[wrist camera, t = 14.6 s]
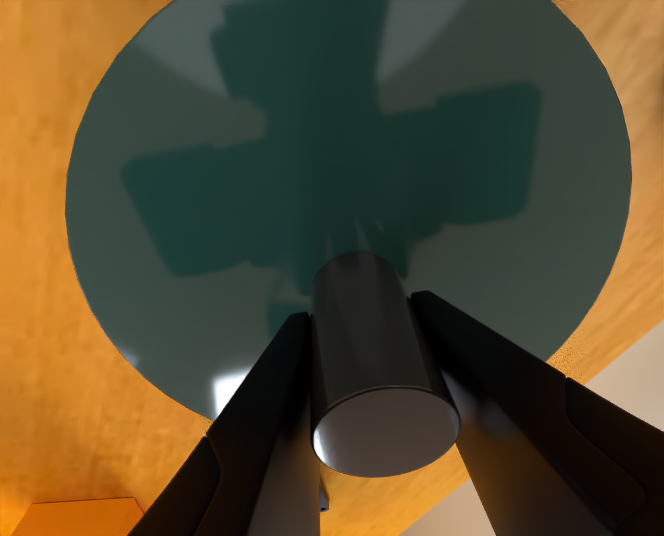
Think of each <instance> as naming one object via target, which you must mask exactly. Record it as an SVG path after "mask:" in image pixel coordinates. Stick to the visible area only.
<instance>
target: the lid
mask: <svg viewBox="0 0 664 536" xmlns="http://www.w3.org/2000/svg"><path fill="white" fill-rule="evenodd" d="M631 185H632V170H631V153H630V141H629V137H628V132H627V128H626V124H625V119H624V115H623V111H622V106H621V104H620V101H619V99H618V96H617V94H616V92H615V89H614V87H613V85H612V82H611V80H610V78H609V75H608V73H607V70H606V68H605V67H604V65H603V64H602V62H601V61H600V59H599V58H598V56H597V55H596V53H595V52H594V50H593V48H592V47H591V45H590V44H589V42H588V41H587V39H586V38H585V36H584V35H583V33H582V32H581V31H580V30H579V29H578V28H577V27H576V26H575V25H574V24H573V23H572V22H571V21H570V20H569V19H568V18H567V17H566V16H565V15H564V14H563V12H562V11H561V10H560V9H559V8H558V7H557V6H556V5H555V4H554V3H553V2H552V1H551V0H173V1H171V2H170V3H169V4H167V5H166V6H165V7H163V8H162V9H161V10H160V11H158V12H157V13H156V14H154V15H153V16H152V17H151V18H150V19H149V20H148V21H147V22H146V23H145V24H144V26H143V27H142V28H141V29H140V30H139V31H138V32H137V33H136V34H135V35H134V36H133V38H132V39H131V40H130V41H129V42H128V43H127V44H126V45H125V46H124V47H123V49H122V50H121V51H120V52H119V53H118V54H117V56H116V57H115V59H114V61H113V62H112V64H111V65H110V67H109V68H108V70H107V72H106V73H105V75H104V76H103V78H102V79H101V81H100V83H99V84H98V86H97V87H96V89H95V91H94V92H93V94H92V96H91V99H90V101H89V104H88V106H87V109H86V111H85V113H84V116H83V118H82V121H81V123H80V126H79V128H78V130H77V133H76V136H75V140H74V145H73V149H72V154H71V158H70V163H69V167H68V172H67V183H66V202H65V217H66V226H67V235H68V244H69V250H70V254H71V258H72V261H73V265H74V269H75V272H76V276H77V280H78V282H79V285H80V287H81V289H82V291H83V294H84V296H85V298H86V301H87V303H88V305H89V307H90V310H91V311H92V313H93V315H94V316H95V318H96V320H97V321H98V323H99V324H100V326H101V328H102V329H103V331H104V333H105V334H106V336H107V337H108V338H109V340H110V341H111V342H112V343H113V345H114V346H115V347H116V348H117V350H118V351H119V352H120V353H121V355H122V356H123V357H124V358H125V359H126V360H127V361H128V362H129V363H130V364H131V365H132V366H133V367H134V368H135V369H136V370H137V371H138V372H139V373H140V374H141V375H142V376H143V377H144V378H145V379H146V380H148V381H149V382H150V383H152V384H153V385H154V386H155V387H157V388H158V389H159V390H161V391H162V392H163V393H164V394H166V395H167V396H169V397H170V398H172V399H173V400H175V401H177V402H178V403H180V404H181V405H183V406H185V407H186V408H188V409H190V410H192V411H194V412H196V413H198V414H200V415H202V416H204V417H206V418H208V419H210V420H212V421H215V419H216V418H217V417H218V415H219V414H220V412H221V411H222V410H223V408H224V407H225V405H226V404H227V403H228V401H229V400H230V398H231V397H232V395H233V394H234V393H235V391H236V390H237V388H238V387H239V386H240V384H241V383H242V381H243V380H244V379H245V377H246V376H247V374H248V373H249V371H250V370H251V369H252V367H253V366H254V364H255V363H256V362H257V360H258V359H259V357H260V356H261V355H262V353H263V352H264V350H265V349H266V347H267V346H268V345H269V343H270V342H271V340H272V339H273V338H274V336H275V335H276V333H277V332H278V331H279V329H280V328H281V326H282V325H283V324H284V322H285V321H286V319H287V318H288V316H289V315H290V314H293V313H299V312H304V311H305V312H307V313H308V314H309V317H310V443H311V447H312V449H313V451H314V453H315V455H316V456H317V457H318V459H319V460H320V461H321V462H322V463H324V464H325V465H326V466H328V467H329V468H331V469H333V470H335V471H338V472H341V473H344V474H347V475H352V476H357V477H370V478H377V477H389V476H395V475H401V474H404V473H408V472H411V471H414V470H417V469H420V468H422V467H424V466H426V465H428V464H430V463H432V462H434V461H435V460H437V459H438V458H440V457H441V456H442V455H444V454H445V453H446V452H447V451H448V450H449V449H450V448H451V447H452V445H453V444H454V443H455V441H456V439H457V438H458V435H459V433H460V428H461V417H460V414H459V411H458V408H457V406H456V404H455V401H454V399H453V397H452V394H451V392H450V390H449V387H448V385H447V383H446V381H445V378H444V376H443V374H442V371H441V369H440V367H439V364H438V362H437V360H436V358H435V355H434V353H433V351H432V348H431V346H430V344H429V341H428V339H427V337H426V335H425V332H424V330H423V328H422V325H421V323H420V321H419V318H418V316H417V314H416V311H415V309H414V307H413V305H412V302H411V300H410V296H411V294H412V293H413V292H418V291H424V290H429V291H431V292H433V293H434V294H436V295H437V296H439V297H441V298H442V299H444V300H446V301H447V302H449V303H450V304H452V305H454V306H455V307H457V308H458V309H460V310H462V311H463V312H465V313H467V314H468V315H470V316H471V317H473V318H475V319H476V320H478V321H479V322H481V323H483V324H484V325H486V326H488V327H489V328H491V329H492V330H494V331H496V332H497V333H499V334H500V335H502V336H504V337H505V338H507V339H509V340H510V341H512V342H513V343H515V344H517V345H518V346H520V347H521V348H523V349H525V350H526V351H528V352H529V353H531V354H533V355H534V356H536V357H538V358H539V359H541V360H542V361H544V362H546V361H547V360H548V359H549V358H550V357H551V356H552V355H553V354H554V353H555V352H556V351H557V350H558V349H559V348H560V347H561V346H562V345H563V344H564V343H565V342H566V340H567V339H568V338H569V337H570V336H571V335H572V333H573V332H574V331H575V330H576V329H577V327H578V326H579V325H580V323H581V322H582V321H583V319H584V318H585V316H586V315H587V313H588V312H589V310H590V309H591V307H592V306H593V304H594V303H595V302H596V300H597V298H598V296H599V294H600V292H601V290H602V288H603V286H604V285H605V283H606V281H607V279H608V277H609V275H610V273H611V270H612V268H613V265H614V262H615V260H616V257H617V255H618V252H619V249H620V247H621V244H622V239H623V235H624V231H625V227H626V223H627V219H628V214H629V206H630V195H631Z"/></svg>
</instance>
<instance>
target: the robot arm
mask: <svg viewBox="0 0 664 536" xmlns="http://www.w3.org/2000/svg"><path fill="white" fill-rule="evenodd" d="M410 300H411V302H412V305H413V307H414V309H415V311H416V314H417V316H418V318H419V321H420V323H421V325H422V328H423V330H424V332H425V335H426V337H427V339H428V341H429V344H430V346H431V348H432V351H433V353H434V355H435V358H436V360H437V362H438V364H439V367H440V369H441V371H442V374H443V376H444V378H445V381H446V383H447V385H448V387H449V390H450V392H451V394H452V397H453V399H454V401H455V404H456V406H457V408H458V411H459V414H460V417H461V428H460V433H459V435H458V438H457V439H456V441H455V443H456V445H457V448H458V450H459V452H460V455H461V457H462V459H463V461H464V464H465V466H466V468H467V470H468V473H469V475H470V477H471V479H472V482H473V484H474V486H475V489H476V491H477V493H478V496H479V498H480V500H481V502H482V505H483V507H484V509H485V511H486V513H487V516H488V518H489V520H490V523H491V525H492V527H493V529H494V532H495V534H496V536H664V432H663V431H661V430H659V429H657V428H655V427H654V426H652V425H650V424H648V423H646V422H645V421H643V420H641V419H639V418H637V417H636V416H634V415H632V414H630V413H628V412H627V411H625V410H623V409H621V408H620V407H618V406H616V405H615V404H613V403H611V402H610V401H608V400H606V399H605V398H603V397H601V396H599V395H598V394H596V393H595V392H593V391H591V390H589V389H588V388H586V387H585V386H583V385H581V384H580V383H578V382H577V381H575V380H573V379H572V378H570V377H567V378H566V376H565V374H563V373H562V372H560V371H559V370H557V369H555V368H554V367H552V366H550V365H549V364H547V363H546V362H544V361H542V360H541V359H539V358H538V357H536V356H534V355H533V354H531V353H529V352H528V351H526V350H525V349H523V348H521V347H520V346H518V345H517V344H515V343H513V342H512V341H510V340H509V339H507V338H505V337H504V336H502V335H500V334H499V333H497V332H496V331H494V330H492V329H491V328H489V327H488V326H486V325H484V324H483V323H481V322H479V321H478V320H476V319H475V318H473V317H471V316H470V315H468V314H467V313H465V312H463V311H462V310H460V309H458V308H457V307H455V306H454V305H452V304H450V303H449V302H447V301H446V300H444V299H442V298H441V297H439V296H437V295H436V294H434V293H433V292H431V291H429V290H424V291H418V292H413V293H412V294H411V296H410ZM206 436H207V437H206ZM206 436H204V437H203V438H202V439H201V440H200V442H199V443H198V445H197V446H196V447H195V449H194V450H193V452H192V453H191V454H190V456H189V457H188V458H187V460H186V461H185V463H184V464H183V465H182V467H181V468H180V469H179V471H178V472H177V473H176V475H175V476H174V477H173V479H172V480H171V481H170V483H169V484H168V485H167V487H166V488H165V489H164V490H163V492H162V493H161V494H160V495H159V497H158V498H157V499H156V500H155V502H154V503H153V504H152V505H151V506H150V508H149V509H148V510H147V511H146V513H145V514H144V515H143V516H142V518H141V519H140V520H139V521H138V523H137V524H136V525H135V526H134V527H133V529H132V530H131V531H130V532H129V533H128V535H127V536H320V512H324V511H327V510H328V509H329V503H328V501H327V498H326V495H325V493H324V490H323V487H322V485H321V482H320V460H319V459H318V457H317V456H316V455H315V453H314V451H313V449H312V447H311V443H310V317H309V314H308V313H307V312H305V311H304V312H299V313H293V314H290V315H289V316H288V318H287V319H286V321H285V322H284V324H283V325H282V326H281V328H280V329H279V331H278V332H277V333H276V335H275V336H274V338H273V339H272V340H271V342H270V343H269V345H268V346H267V347H266V349H265V350H264V352H263V353H262V355H261V356H260V357H259V359H258V360H257V362H256V363H255V364H254V366H253V367H252V369H251V370H250V371H249V373H248V374H247V376H246V377H245V379H244V380H243V381H242V383H241V384H240V386H239V387H238V388H237V390H236V391H235V393H234V394H233V395H232V397H231V398H230V400H229V401H228V403H227V404H226V405H225V407H224V408H223V410H222V411H221V412H220V414H219V415H218V417H217V418H216V419H215V421H214V422H213V424H212V425H211V426H210V428H209V429H208V431H207V432H206Z"/></svg>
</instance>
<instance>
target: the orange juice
mask: <svg viewBox="0 0 664 536" xmlns="http://www.w3.org/2000/svg"><path fill="white" fill-rule="evenodd" d="M143 515H144V513H143V512H142V510H141V509H140V507H139V505H138V504H137V502H136V501H135V499H134V498H118V499H103V500H88V501H73V502H57V503H42V504H31V505H30V507H29V509H28V510H27V512H26V513H25V515H24V516H23V518H22V520H21V521H20V523H19V524H18V526H17V527H16V529H15V531H14V532H13V534H12V535H11V536H127V535H128V533H129V532H130V531H131V530H132V529H133V527H134V526H135V525H136V524H137V523H138V521H139V520H140V519H141V518H142V516H143Z"/></svg>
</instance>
